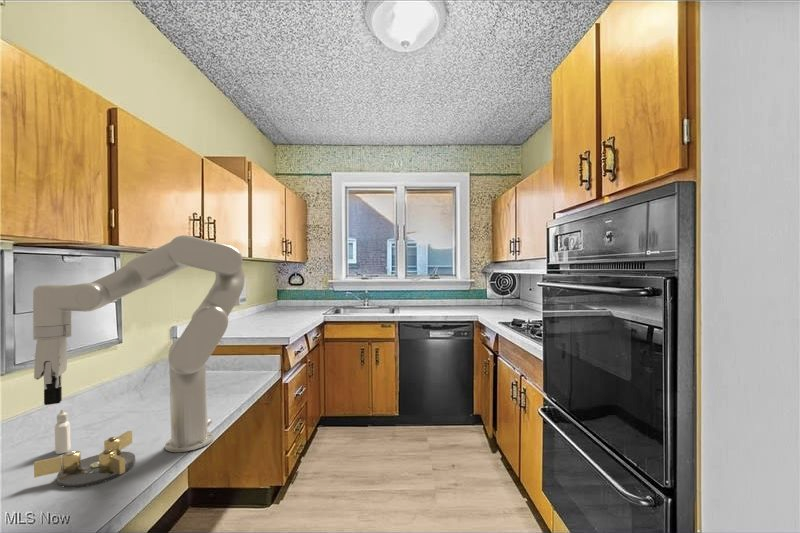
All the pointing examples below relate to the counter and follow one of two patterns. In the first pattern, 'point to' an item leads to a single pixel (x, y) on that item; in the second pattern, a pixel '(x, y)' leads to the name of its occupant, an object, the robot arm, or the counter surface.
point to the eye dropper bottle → (62, 433)
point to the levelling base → (92, 472)
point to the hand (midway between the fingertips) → (52, 403)
